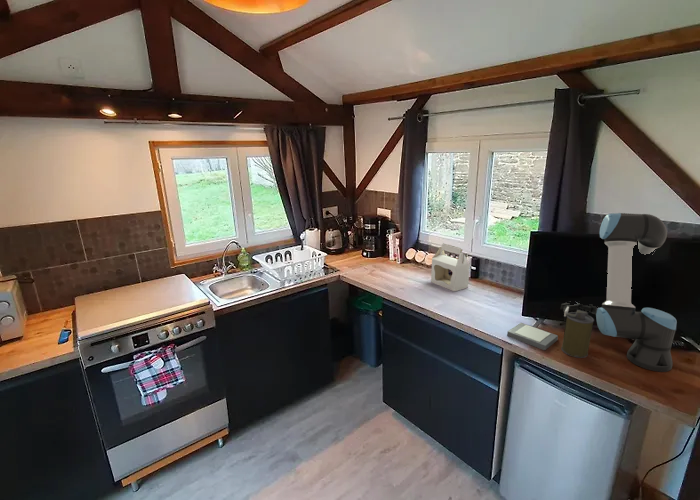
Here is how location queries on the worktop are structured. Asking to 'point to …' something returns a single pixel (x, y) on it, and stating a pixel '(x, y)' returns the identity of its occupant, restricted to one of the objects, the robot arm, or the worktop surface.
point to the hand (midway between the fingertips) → (581, 318)
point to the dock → (532, 336)
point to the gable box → (457, 267)
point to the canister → (577, 334)
